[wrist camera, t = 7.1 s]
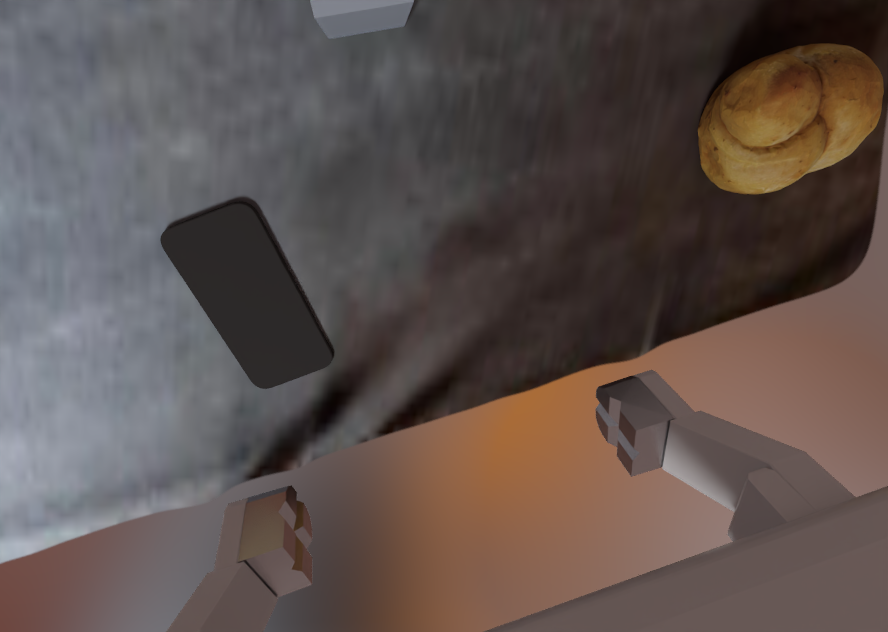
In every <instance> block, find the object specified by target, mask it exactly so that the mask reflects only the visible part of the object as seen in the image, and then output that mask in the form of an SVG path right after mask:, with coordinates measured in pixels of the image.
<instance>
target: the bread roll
mask: <svg viewBox="0 0 888 632" xmlns="http://www.w3.org/2000/svg"><path fill="white" fill-rule="evenodd" d="M883 92H884V89H883V78H882V75H881V73H880V70H879V69H878V68H877V66H876V65H875V64H874V62H873V61H872V60H871V59H870V58H869V57H868V56H867V55H866V54H864V53H862V52H861V51H859V50H857V49H855V48H853V47H850V46H846V45H838V44H831V43H819V44H809V45H804V46H796V47H793V48H790V49H787V50H783V51H780V52H777V53H774V54H771V55H768V56H765V57H763V58H760V59H758V60H755V61H753V62H751V63H749V64H748V65H746V66H744V67H742V68H740V69H739V70H737V71H736V72H734V73H733V74H732V75H730V76H729V77H728V78H727V79H725V80H724V81H723V82H722V83H721V84H720V85H719V86H718V88H717V89H716V90H715V91H714V92H713V94H712V95H711V97H710V99H709V101H708V102H707V104H706V106H705V108H704V111H703V113H702V116H701V119H700V123H699V126H698V136H699V142H698V145H699V150H700V159H701V166H702V169H703V170H704V172H705V174H706V175H707V177H708V178H709V179H710V180H711V181H712V182H713V183H714V184H716V185H717V186H718V187H719V188H721V189H724V190H727V191H730V192H735V193H740V194H761V193H768V192H773V191H777V190H780V189H782V188H784V187H786V186H788V185H790V184H792V183H793V182H795V181H797V180H798V179H800V178H801V177H802V176H803V175H804V174H807V173H810V172H813V171H816V170H819V169H823V168H825V167H828V166H831V165H833V164H835V163H836V162H838V161H840V160H842V159H843V158H845V157H847V156H848V155H850V154H851V153H852V152H853V151H854V150H855V149H856V148H857V147H858V146H859V144H860V143H861V142H862V141H863V140H864V139H865V138H866V136H867V135H868V134H869V133H870V132H871V131H872V130H873V129H874V128H875V127H876V125H877V123H878V120H879V117H880V114H881V106H882V97H883Z"/></svg>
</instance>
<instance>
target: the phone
mask: <svg viewBox="0 0 888 632" xmlns="http://www.w3.org/2000/svg"><path fill="white" fill-rule="evenodd" d="M161 244H162V247H163V249H164V251H165V252H166V254H167V255H168V257H169V258H170V260H171V261H172V263H173V264H174V266H175V267H176V269H177V270H178V272H179V273H180V275H181V276H182V278H183V279H184V281H185V282H186V284H187V285H188V287H189V288H190V290H191V291H192V293H193V294H194V296H195V297H196V299H197V300H198V302H199V303H200V305H201V306H202V308H203V309H204V311H205V312H206V314H207V315H208V317H209V318H210V320H211V322H212V323H213V325H214V326H215V328H216V329H217V331H218V332H219V334H220V335H221V337H222V338H223V340H224V341H225V343H226V344H227V346H228V347H229V349H230V350H231V352H232V353H233V355H234V356H235V358H236V359H237V361H238V362H239V364H240V365H241V367H242V368H243V370H244V371H245V373H246V374H247V376H248V377H249V379H250V380H251V382H252V383H253V384H254V385H255V386H257V387H259V388H263V389H267V388H272V387H275V386H277V385H280V384H283V383H285V382H288V381H291V380H293V379H296V378H299V377H301V376H304V375H307V374H309V373H312V372H315V371H317V370H320V369H323V368H325V367H327V366H328V365H329V364H330V363H331V361H332V357H333V354H332V350H331V348H330V346H329V344H328V342H327V341H326V339H325V337H324V335H323V333H322V331H321V329H320V328H319V326H318V324H317V322H316V320H315V318H314V316H313V314H312V313H311V311H310V309H309V307H308V305H307V303H306V301H305V300H304V298H303V296H302V294H301V292H300V290H299V288H298V286H297V285H296V283H295V281H294V279H293V277H292V275H291V273H290V272H289V270H288V268H287V265H286V263H285V261H284V259H283V257H282V255H281V254H280V252H279V250H278V248H277V246H276V245H275V244H274V242H273V240H272V238H271V236H270V234H269V232H268V230H267V229H266V227H265V225H264V223H263V221H262V219H261V217H260V216H259V214H258V212H257V211H256V209H255V208H254V207H253V206H252V205H250V204H248V203H246V202H235V203H232V204H229V205H226V206H224V207H221V208H218V209H216V210H213V211H211V212H208V213H205V214H203V215H200V216H197V217H195V218H192V219H190V220H187V221H185V222H182V223H179V224H177V225H174V226H172V227H170V228H168V229H167V230H165V231H164V232H163V234H162V236H161Z"/></svg>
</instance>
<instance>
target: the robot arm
mask: <svg viewBox="0 0 888 632" xmlns="http://www.w3.org/2000/svg"><path fill="white" fill-rule="evenodd" d="M596 398H597V399H598V401H599V402H600V404H599V405H598V406H597V408H596V419H597V423H598V426H599V429H600V431H601V433H602V435H603V436H604V438H605V439H606V441H607V442H608V443H610V444H612V445H614V446H616V447H617V457H618V458H619V460H620V461H621V462H622V464H623V465H624V467H625V468H626V470H627V471H628V473H629V474H630V475H631V477H632V476H635V475H637V474H641V473H644V472H648V471H651V470H654V469H658V468H661V467H662V469H663V470H665V471H667V472H668V473H670V474H672V475H673V476H675V477H677V478H678V479H680V480H682V481H683V482H685V483H687V484H688V485H690V486H692V487H693V488H695V489H697V490H698V491H700V492H702V493H703V494H705V495H706V496H708V497H710V498H711V499H713V500H715V501H716V502H718V503H720V504H722V505H723V506H725V507H727V508H728V509H730V510H731V511H733V512H734V515H733V518H732V521H731V524H730V527H729V530H728V536H729V537H730V538H731V540H732V541H733V542H731V543H728V544H726V545H723V546H720V547H717V548H714V549H712V550H709V551H706V552H703V553H701V554H698V555H695V556H692V557H689V558H687V559H684V560H681V561H678V562H676V563H673V564H670V565H667V566H665V567H662V568H659V569H656V570H653V571H650V572H648V573H645V574H642V575H639V576H637V577H634V578H631V579H628V580H626V581H623V582H620V583H617V584H615V585H612V586H609V587H606V588H603V589H601V590H598V591H595V592H592V593H589V594H587V595H584V596H581V597H578V598H576V599H573V600H570V601H567V602H564V603H562V604H559V605H556V606H554V607H551V608H548V609H545V610H542V611H539V612H537V613H534V614H531V615H528V616H526V617H523V618H520V619H518V620H515V621H512V622H509V623H506V624H504V625H501V626H498V627H495V628H492V629H490V630H487V631H484V632H888V486H887V487H884V488H881V489H879V490H876V491H873V492H870V493H867V494H864V495H862V496H859V497H855V496H854V495H853V494H852V493H850V492H849V491H848V490H847V489H846V488H845V487H844V486H843V485H841V483H839V482H838V481H837V480H836V479H835V478H834V477H832V476H831V475H830V474H829V473H828V472H827V471H826V470H825V469H824V468H823V467H822V466H820V465H819V464H818V463H817V462H816V461H815V460H814V459H813V458H811V457H810V456H809V455H808V454H807V453H806V452H804V451H802V450H799V449H796V448H794V447H791V446H789V445H786V444H784V443H781V442H779V441H776V440H773V439H771V438H768V437H766V436H763V435H761V434H758V433H756V432H753V431H751V430H748V429H746V428H743V427H740V426H738V425H735V424H733V423H730V422H728V421H725V420H723V419H720V418H717V417H715V416H712V415H710V414H707V413H705V412H702V411H698V412H694V411H693V410H692V409H691V408H690V407H689V406H688V404H687V403H686V402H685V401H684V400H683V399H682V398H681V397H680V396H679V395H678V394H677V393H676V392H675V391H674V390H673V389H672V388H671V387H670V386H669V385H668V384H667V383H666V382H665V381H664V380H663V379H662V378H661V377H660V376H659V374H657V372H655V371H653V370H650V371H647V372H643V373H640V374H637V375H634V376H629V377H626V378H623V379H620V380H617V381H614V382H611V383H608V384H605V385H602V386H599V387H598V388H597V390H596ZM311 541H312V525H311V519H310V515H309V512H308V510H307V508H306V506H305V504H304V503H302V502H300V501H297V492H296V491H295V489H294V488H293V487H292V485H291V486H287V487H283V488H280V489H276V490H273V491H269V492H266V493H262V494H259V495H256V496H252V497H249V498H246V499H242V500H239V501H236V502H233V503H229V504H228V505H227V507H226V509H225V511H224V517H223V522H222V527H221V533H220V538H219V544H218V550H217V555H216V561H215V566H214V571H213V572H210V573H207V575H206V576H205V578H204V579H203V580H202V582H201V583H200V585H199V586H198V587H197V589H196V590H195V592H194V593H193V594H192V596H191V597H190V599H189V600H188V602H187V603H186V604H185V606H184V607H183V609H182V610H181V612H180V613H179V614H178V616H177V617H176V619H175V620H174V622H173V623H172V624H171V626H170V627H169V629H168V630H167V631H166V632H263V631H264V629H265V626H266V624H267V622H268V620H269V618H270V616H271V614H272V612H273V609H274V607H275V605H276V603H277V601H278V599H277V597H280V596H283V595H285V594H288V593H291V592H293V591H296V590H299V589H302V588H304V587H307V586H310V585H312V556H311V555H310V553H309V552H308V550H307V548H308V546H309V544H310V543H311Z"/></svg>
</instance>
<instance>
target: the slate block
mask: <svg viewBox="0 0 888 632" xmlns="http://www.w3.org/2000/svg"><path fill="white" fill-rule="evenodd" d="M310 2H311V6H312V10H313V14H314V18H315V20H316V21H317V23H318V24H319V25H320V27H321V28H322V30H323V31H324V33H325V34H326V35H327V37H328V38H329V39H332V38H338V37H344V36H350V35H356V34H362V33H368V32H374V31H380V30H385V29H391V28H397V27H403V26H405V24H406V21H407V18H408V16H409V13H410V11H411V8H412V5H413V3H414V0H310Z"/></svg>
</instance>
